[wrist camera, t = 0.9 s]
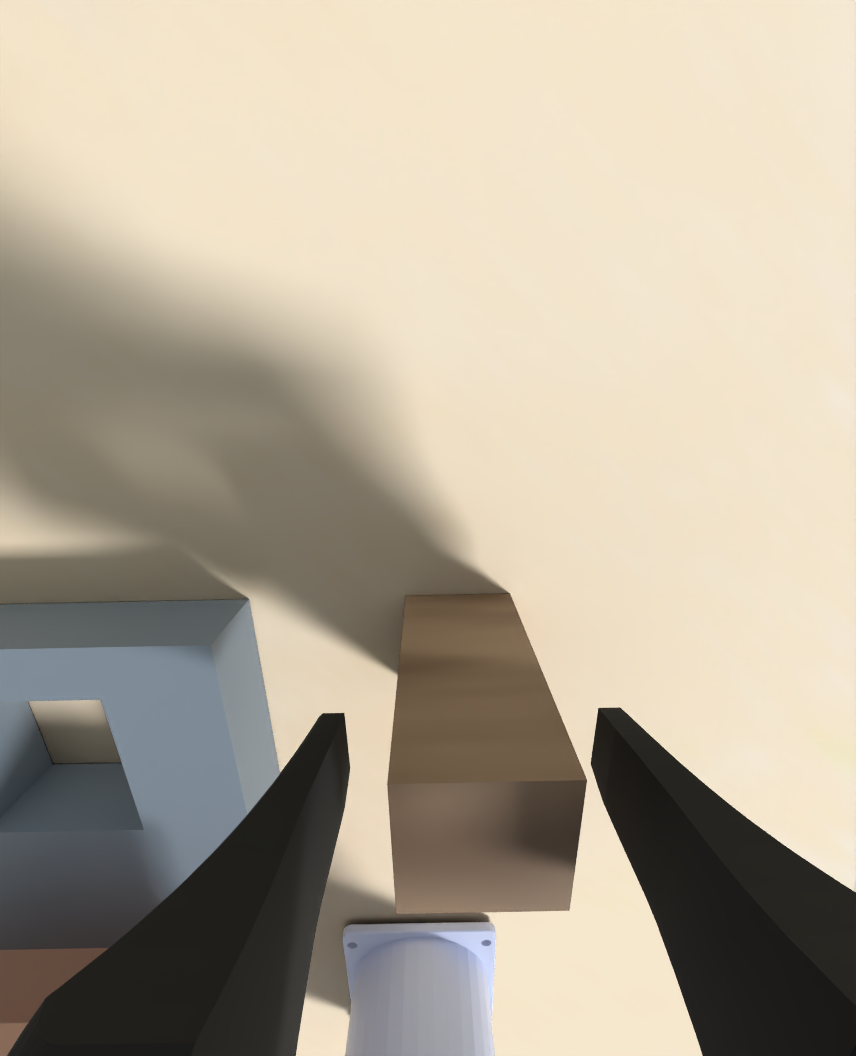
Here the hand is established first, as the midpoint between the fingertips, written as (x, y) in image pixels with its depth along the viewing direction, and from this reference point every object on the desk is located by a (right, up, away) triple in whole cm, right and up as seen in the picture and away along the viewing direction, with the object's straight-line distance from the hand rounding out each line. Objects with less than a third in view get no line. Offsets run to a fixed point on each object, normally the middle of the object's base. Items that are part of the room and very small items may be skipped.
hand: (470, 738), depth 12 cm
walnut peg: (0, +1, +5) cm, 5 cm away
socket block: (-15, -5, +7) cm, 17 cm away
